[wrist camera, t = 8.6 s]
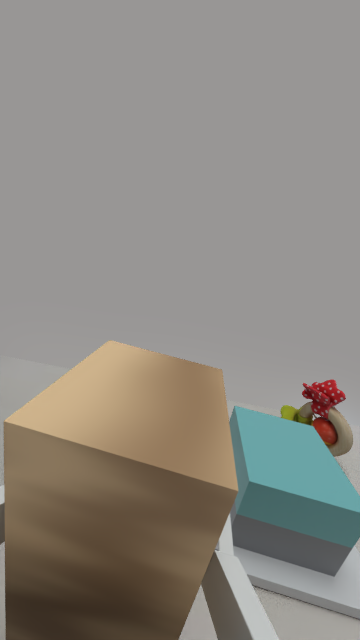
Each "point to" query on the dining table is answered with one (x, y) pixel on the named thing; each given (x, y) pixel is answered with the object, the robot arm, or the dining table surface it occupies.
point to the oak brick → (115, 497)
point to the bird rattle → (332, 422)
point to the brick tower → (294, 513)
